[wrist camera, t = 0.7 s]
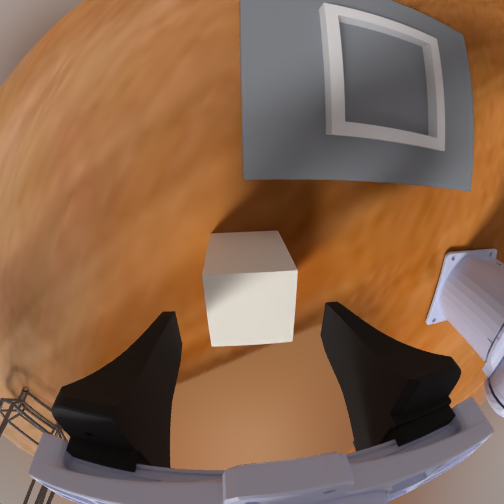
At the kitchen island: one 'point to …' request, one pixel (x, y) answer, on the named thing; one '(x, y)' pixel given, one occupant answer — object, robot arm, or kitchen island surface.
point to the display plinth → (354, 94)
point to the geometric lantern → (21, 412)
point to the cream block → (249, 288)
